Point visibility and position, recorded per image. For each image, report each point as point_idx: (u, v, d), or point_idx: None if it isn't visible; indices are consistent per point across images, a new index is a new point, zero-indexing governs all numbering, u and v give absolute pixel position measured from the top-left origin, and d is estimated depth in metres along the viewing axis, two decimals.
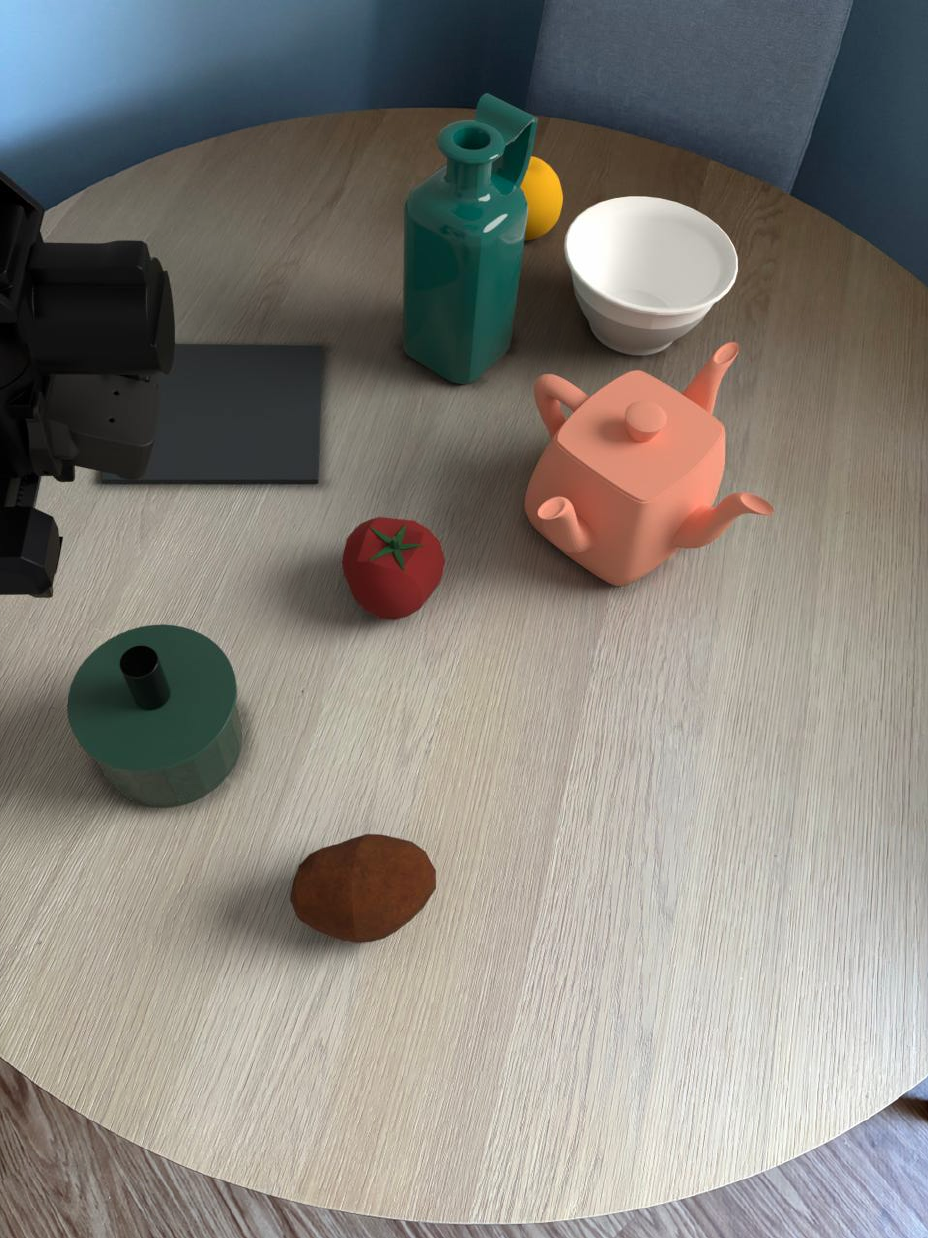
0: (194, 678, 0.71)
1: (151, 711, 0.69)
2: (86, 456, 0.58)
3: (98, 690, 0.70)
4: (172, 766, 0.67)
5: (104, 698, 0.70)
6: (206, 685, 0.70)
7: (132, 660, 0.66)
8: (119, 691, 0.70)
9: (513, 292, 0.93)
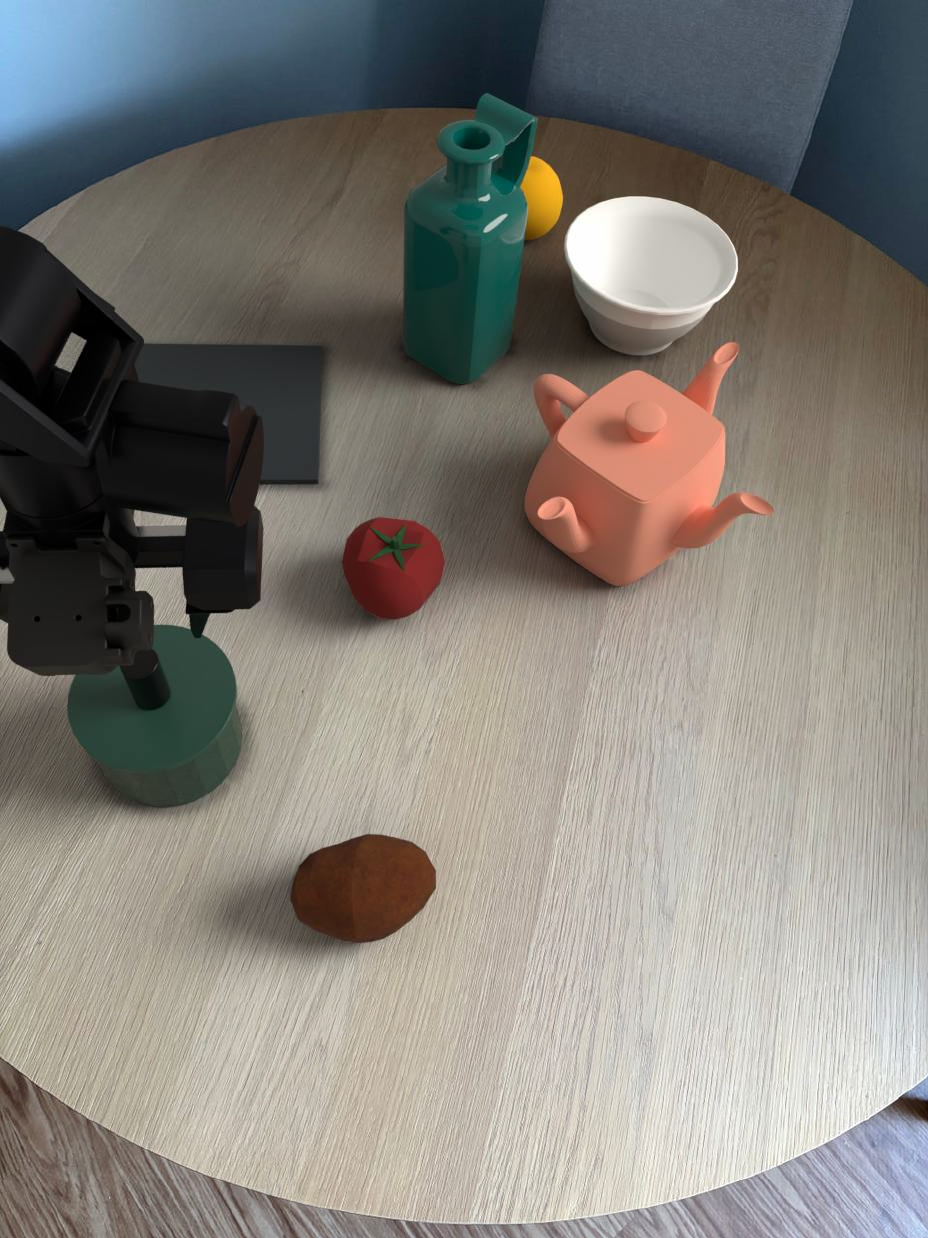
0: (194, 678, 0.71)
1: (151, 711, 0.69)
2: None
3: (98, 690, 0.70)
4: (172, 766, 0.67)
5: (104, 698, 0.70)
6: (206, 685, 0.70)
7: None
8: (119, 691, 0.70)
9: (513, 292, 0.93)
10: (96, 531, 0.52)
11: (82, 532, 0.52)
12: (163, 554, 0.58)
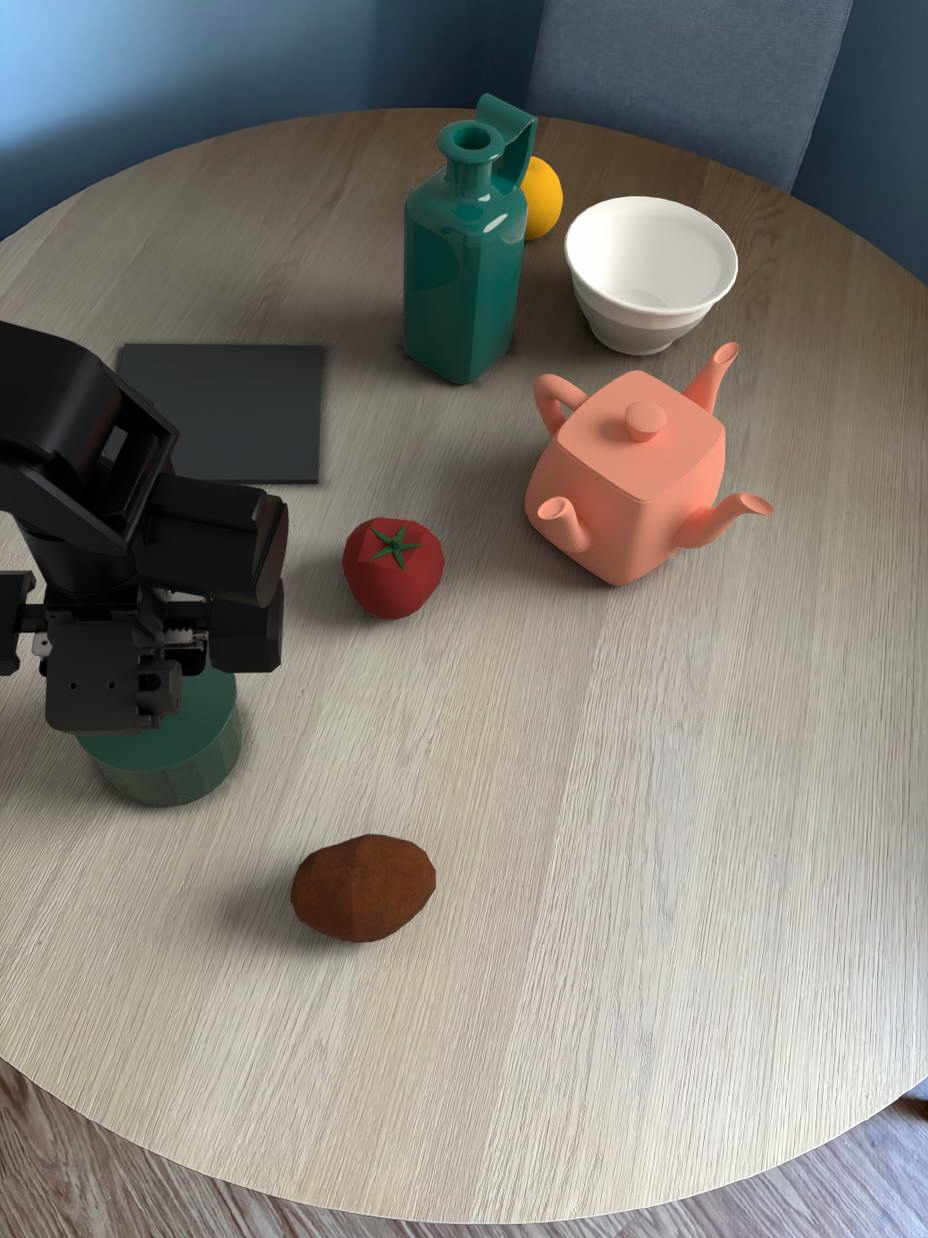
0: (194, 678, 0.71)
1: None
2: None
3: None
4: (172, 766, 0.67)
5: None
6: (206, 685, 0.70)
7: None
8: None
9: (513, 292, 0.93)
10: (130, 604, 0.55)
11: (116, 605, 0.55)
12: (190, 620, 0.61)
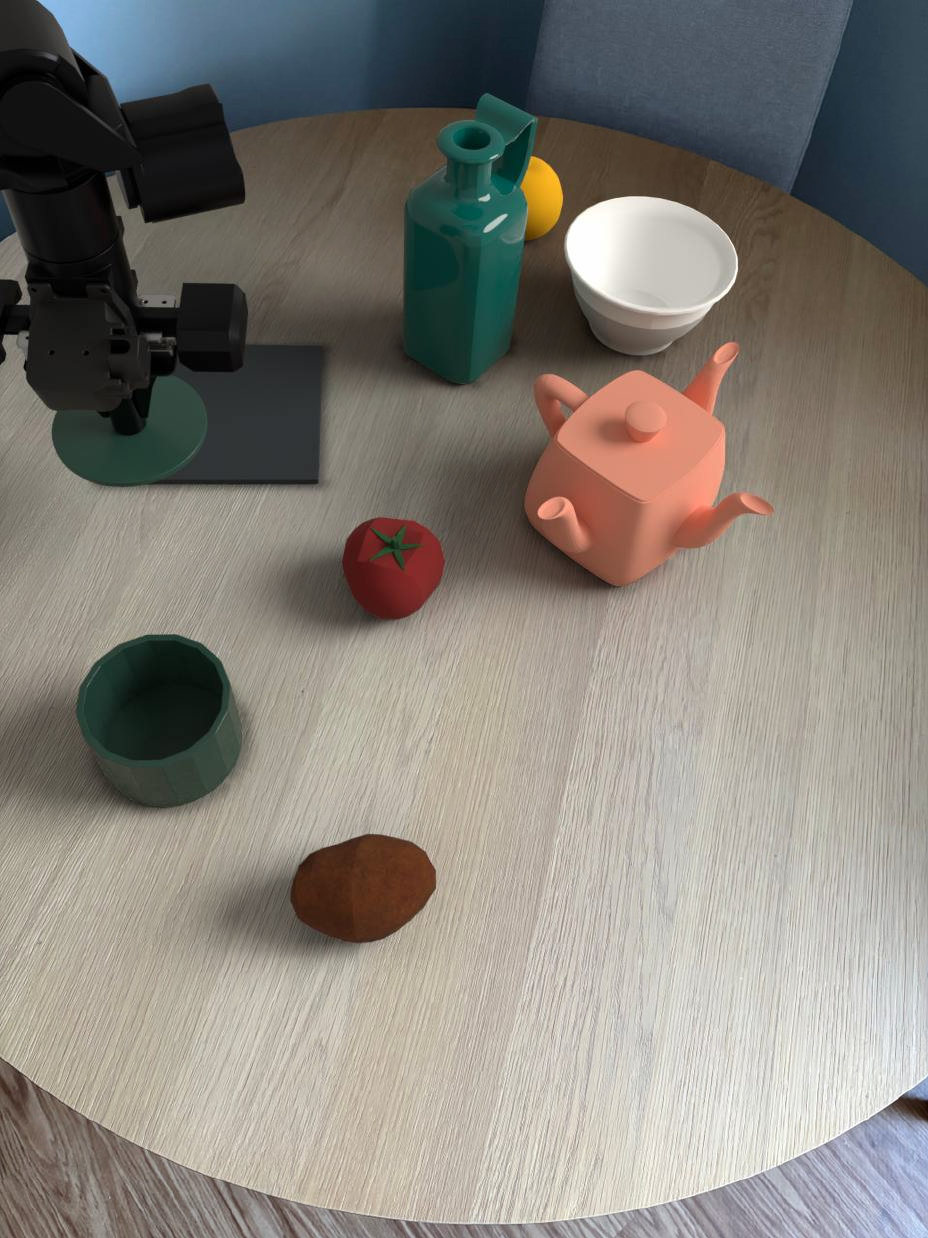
0: (168, 411, 0.77)
1: (128, 436, 0.76)
2: None
3: (80, 419, 0.76)
4: (146, 480, 0.74)
5: (85, 425, 0.76)
6: (179, 417, 0.77)
7: None
8: (99, 420, 0.76)
9: (513, 292, 0.93)
10: (103, 279, 0.62)
11: (91, 280, 0.62)
12: (160, 321, 0.68)
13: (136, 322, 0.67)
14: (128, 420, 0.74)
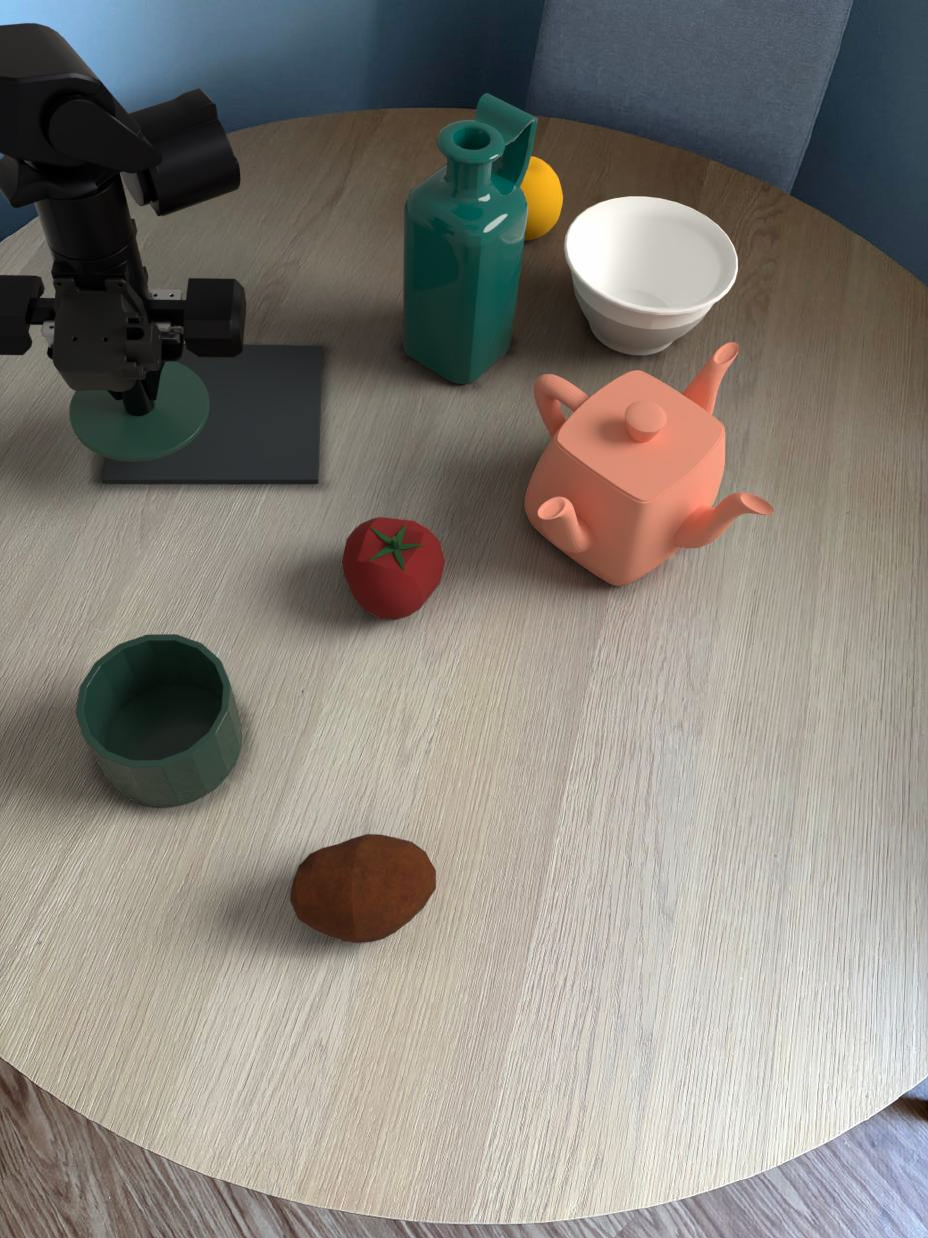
0: (174, 394, 0.85)
1: (138, 416, 0.84)
2: None
3: (95, 401, 0.85)
4: (155, 455, 0.82)
5: (100, 407, 0.84)
6: (184, 399, 0.85)
7: None
8: (112, 402, 0.85)
9: (513, 292, 0.93)
10: (120, 274, 0.70)
11: (109, 275, 0.70)
12: (169, 312, 0.76)
13: (147, 313, 0.76)
14: (138, 402, 0.83)
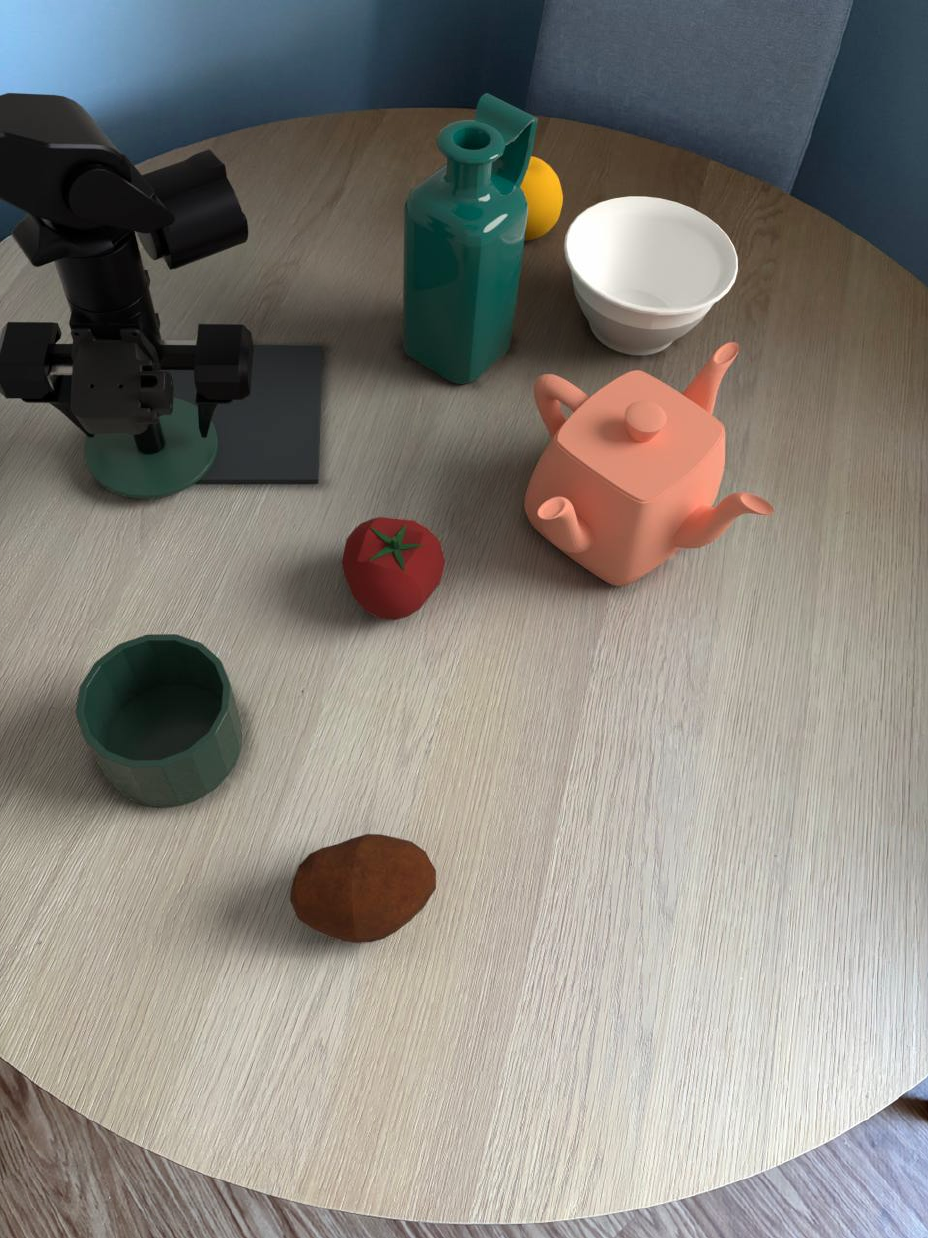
0: (184, 433, 0.89)
1: (150, 455, 0.88)
2: None
3: (108, 440, 0.89)
4: (167, 492, 0.86)
5: (113, 445, 0.88)
6: (193, 438, 0.89)
7: None
8: (125, 441, 0.89)
9: (513, 292, 0.93)
10: (134, 324, 0.74)
11: (124, 325, 0.74)
12: (180, 357, 0.80)
13: (160, 358, 0.79)
14: (150, 441, 0.87)
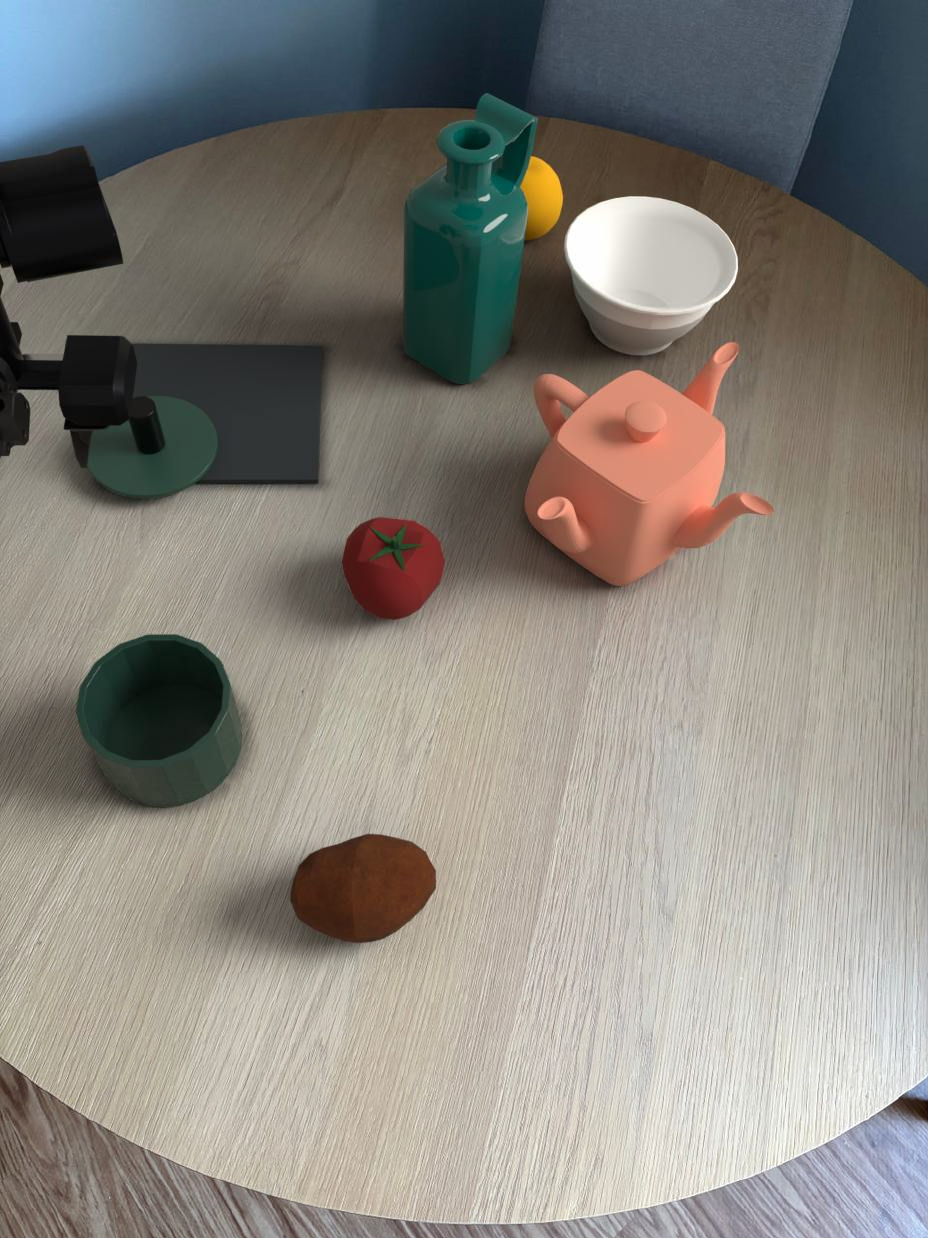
0: (184, 433, 0.89)
1: (150, 455, 0.88)
2: None
3: (108, 440, 0.89)
4: (167, 492, 0.86)
5: (113, 445, 0.88)
6: (193, 438, 0.89)
7: (135, 405, 0.85)
8: (125, 441, 0.89)
9: (513, 292, 0.93)
10: None
11: None
12: (44, 375, 0.67)
13: (18, 376, 0.66)
14: (150, 441, 0.87)
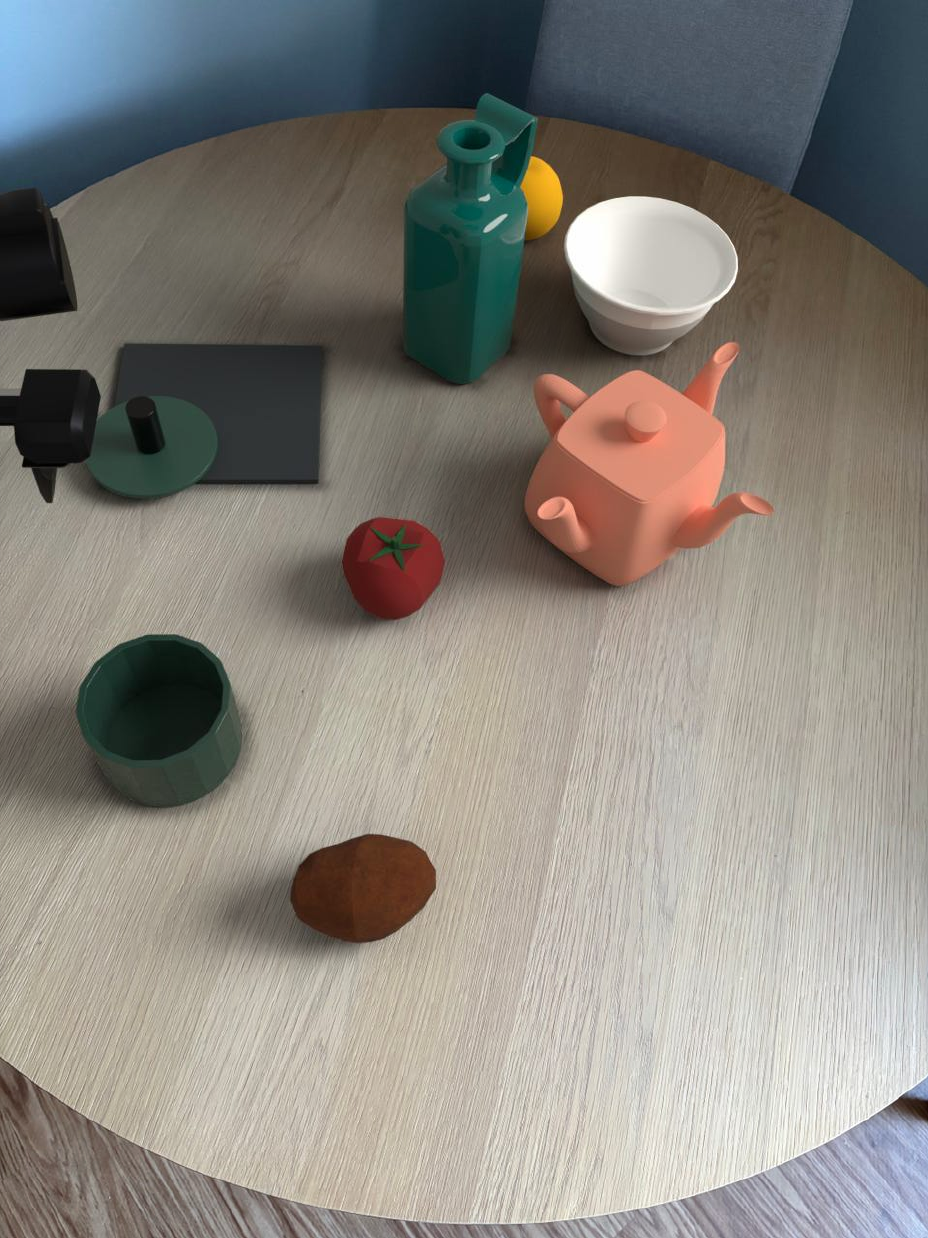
0: (184, 433, 0.89)
1: (150, 455, 0.88)
2: None
3: (108, 440, 0.89)
4: (167, 492, 0.86)
5: (113, 445, 0.88)
6: (193, 438, 0.89)
7: (135, 405, 0.85)
8: (125, 441, 0.89)
9: (513, 292, 0.93)
10: None
11: None
12: (1, 411, 0.64)
13: None
14: (150, 441, 0.87)
